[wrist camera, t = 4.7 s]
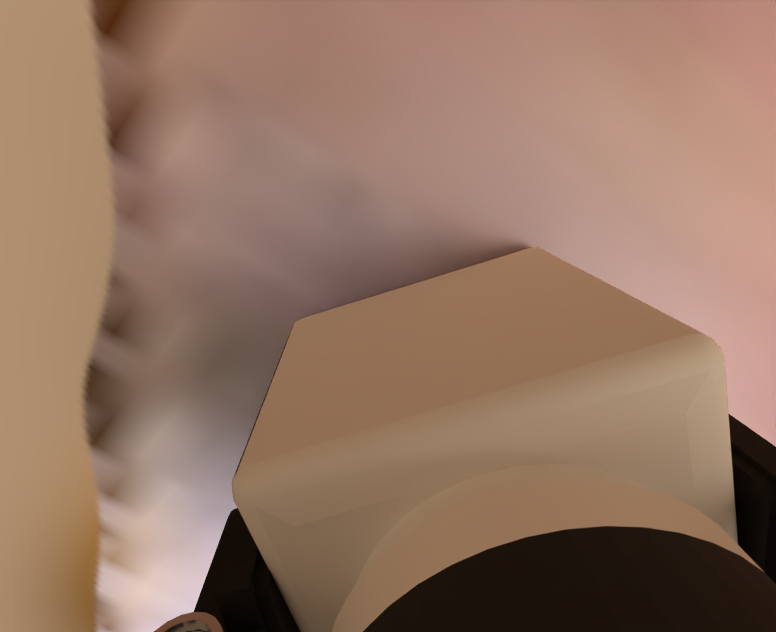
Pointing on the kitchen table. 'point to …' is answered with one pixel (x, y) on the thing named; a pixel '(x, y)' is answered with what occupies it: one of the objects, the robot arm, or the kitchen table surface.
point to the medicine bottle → (501, 463)
